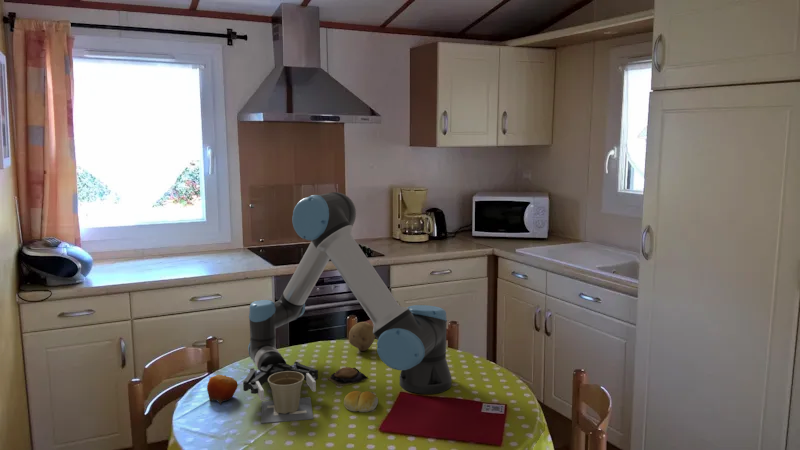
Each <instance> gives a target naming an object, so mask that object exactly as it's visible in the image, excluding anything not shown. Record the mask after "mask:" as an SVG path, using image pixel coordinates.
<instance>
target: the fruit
mask: <svg viewBox="0 0 800 450" xmlns="http://www.w3.org/2000/svg"><path fill="white" fill-rule="evenodd" d="M238 386H239V384H238V381H237V380H236V379H234V378H233V377H231V376H227V375H223V374H216V375H214V376H211V377H210V378H209V380H208V381H207V385H206V391H207V395H208V399H209V402H212V401H216V402H218V403H219V405H220V406H222V405H221V404H222V402H225V401H229V400H230V399H232V398H233V396H234V395H235V392H236V391H237V389H238Z"/></svg>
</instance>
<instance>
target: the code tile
mask: <svg viewBox="0 0 800 450" xmlns="http://www.w3.org/2000/svg"><path fill="white" fill-rule="evenodd" d="M305 420H307V421H308V420H314V414H313V405H312V399H311V397H310V396H309V397H308V396H307V397H300V401H299V408H298V410H297V411H295V412H293V413H290V412H288V413H286V414H282V413H278V412H276V410H275V407H274V401H273V400H272V399H271V400H263V401H261V419H260V424H273V423H283V422H295V421H297V422H298V421H305Z"/></svg>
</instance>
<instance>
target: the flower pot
mask: <svg viewBox="0 0 800 450" xmlns="http://www.w3.org/2000/svg"><path fill="white" fill-rule="evenodd" d="M304 381H305V380H304V375H303V374H302V373H299V372H295V371H283V372H278V373H274V374H272V375H271V376H269V378H268V382H267V383H269V387H270V389H271V395H272V399H273V401H274V407H275V410H276V412H278V413H282V414H286V413H288V412H290V413H293V412H295V411H297V410H298V408H299V401H300V398H301V391H302V385H303V382H304Z"/></svg>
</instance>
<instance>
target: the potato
mask: <svg viewBox="0 0 800 450" xmlns="http://www.w3.org/2000/svg"><path fill="white" fill-rule="evenodd" d="M373 328H374V325H372V324H370V323H369V322H367V321H359V322H357V323H356V324H354V325H353V326H352V327H351V328H350V330H349V332H348V341H349V343H350V345H351V346H353V347H355V348H357V349H358V350H359V351H361V352H365V351H367V350H369V348H371V346H372V345H373V344H374V342H375V339H376V337H375V335H374V334H373Z"/></svg>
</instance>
